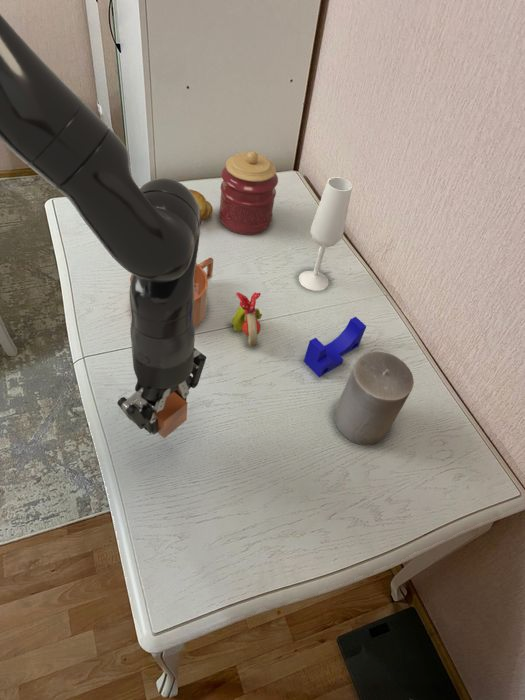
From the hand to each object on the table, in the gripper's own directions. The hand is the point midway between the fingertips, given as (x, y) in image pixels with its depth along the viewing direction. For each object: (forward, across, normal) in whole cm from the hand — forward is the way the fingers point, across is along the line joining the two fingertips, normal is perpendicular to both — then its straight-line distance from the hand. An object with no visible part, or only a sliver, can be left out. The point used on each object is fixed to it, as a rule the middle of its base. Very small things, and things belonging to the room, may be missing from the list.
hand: (164, 418), depth 74 cm
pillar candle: (+9, -27, +20) cm, 35 cm away
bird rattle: (+9, -28, -7) cm, 30 cm away
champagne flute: (+9, -51, -8) cm, 53 cm away
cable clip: (+9, -36, +8) cm, 38 cm away
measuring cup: (+9, -25, -23) cm, 35 cm away
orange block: (0, 0, 0) cm, 0 cm away
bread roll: (+9, -45, -42) cm, 62 cm away
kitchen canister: (+9, -56, -33) cm, 66 cm away
